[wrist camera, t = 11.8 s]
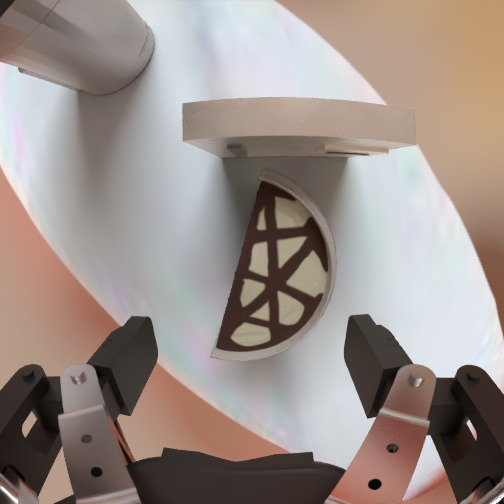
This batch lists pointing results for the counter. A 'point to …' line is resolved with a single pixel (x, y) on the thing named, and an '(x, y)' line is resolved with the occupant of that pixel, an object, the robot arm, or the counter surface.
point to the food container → (278, 274)
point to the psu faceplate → (296, 127)
